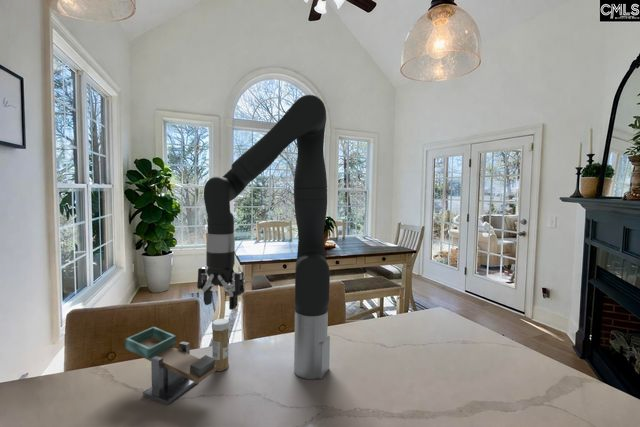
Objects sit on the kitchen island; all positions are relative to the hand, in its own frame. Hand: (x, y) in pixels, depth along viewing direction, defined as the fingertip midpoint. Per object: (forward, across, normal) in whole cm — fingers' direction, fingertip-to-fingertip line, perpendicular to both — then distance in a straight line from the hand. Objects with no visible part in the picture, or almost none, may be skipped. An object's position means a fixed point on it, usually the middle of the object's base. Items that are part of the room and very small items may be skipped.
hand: (220, 306), depth 90 cm
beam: (+10, +4, +13) cm, 17 cm away
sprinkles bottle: (+18, 0, 0) cm, 18 cm away
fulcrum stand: (+18, +4, +13) cm, 22 cm away
